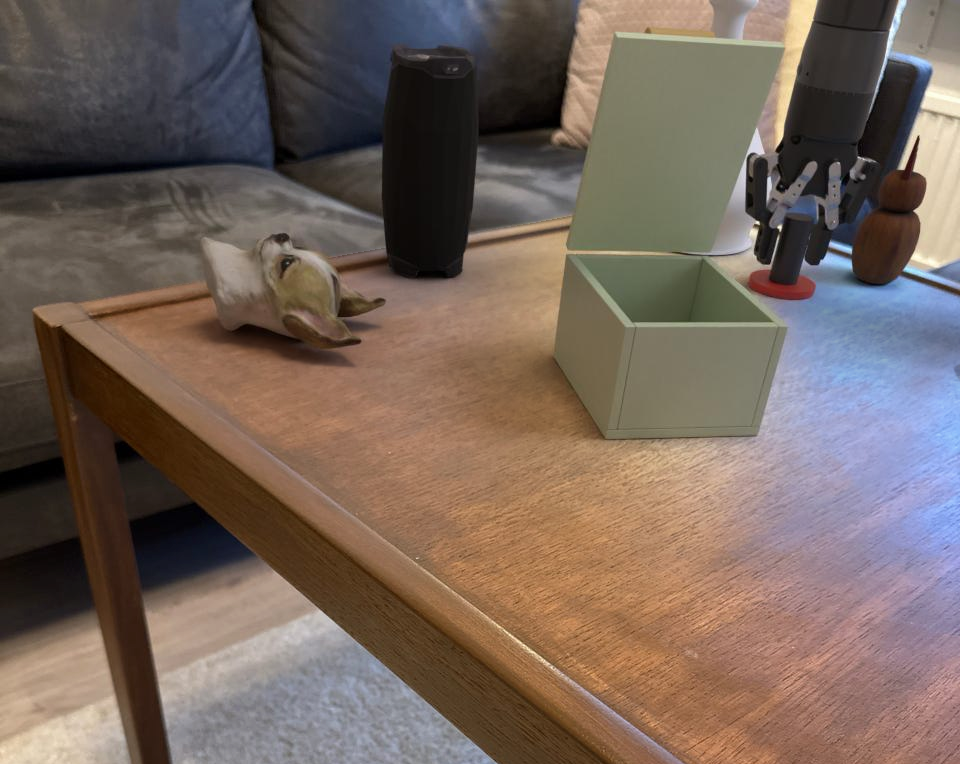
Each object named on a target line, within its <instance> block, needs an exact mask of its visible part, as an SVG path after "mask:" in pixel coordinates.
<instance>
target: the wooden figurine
mask: <svg viewBox="0 0 960 764" xmlns="http://www.w3.org/2000/svg"><path fill="white" fill-rule="evenodd" d="M920 141H921V135H919V134H918V135H917V137H916V140H915V142H914V144H913V146H912V149H911V151H910V154H909V156H908V159H907V162H906V164H905V167H904V169H893V170H891V171H890V172H888V173H887V174H886V175H885V176H884V178H883V180H882V181H881V183H880V186H879V189H878V193H877V202H878V205H879V207H876V208H874V209H872V210H871V211H870V212H869V213H868V214H867V215H865V216H864V218H863V220H862V221H861V223H860V224H859V226H858V228H857V230H856V232H855V235H854V238H853V241H852V245H851V267H852V272H853V274H854V275H855V277H856V278H857V279H859V280H861V281H863V282H865V283H867V284H872V285H885V284H891V283H892V282H894V281H895V280H897V279H898V278H899V277H900V275H901V274H902V273H903V272H904V270H905V268H906V267H907V265H908V264H909V263H910V260H911V259H912V257H913V255H914V253H915V251H916V248H917V245H918V243H919V239H920V235H921V225H922V223H921V220H920V217H919V215H918V213H916V212H915V210H917V209H918V208H920V206H921V205H922V204H923V201H924V198H925V195H926V192H927V184H928V182H927V178H926V177H925V176H924V175H922V174H921V173H919V172H915V171H914V169H915V165H916V161H917V157H918V150H919V144H920Z"/></svg>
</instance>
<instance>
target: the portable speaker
mask: <svg viewBox="0 0 960 764" xmlns="http://www.w3.org/2000/svg"><path fill="white" fill-rule="evenodd" d="M389 61H390V62H391V67H390V72H389V79H388V83H387V84H388V85H387V91H386V97H385V103H384V110H383V116H382V143H381V144H382V146H381V148H382V151H381V154H382V155H381V205H382V217H383V231H384V243H385V244H384V245H385V253H386V258H387V265H388V267H389V268H390V270H391V271H392V272H393V273H395V274H399V275H402V276H405V277H408V278H411V279H412V278H414V277H416V276H417V275H418V273H419V272H443V274H444V275H445V276H446V277H447V278H456V277H457V276H459V274H460V273H462V272H463V266H464V265H463V263H464V255H465V253H466V249H467V244H468V243H469V242H468V241H469V232H470V226H471V220H472V213H473V209H474V197H475V196H474V195H475V185H476V174H477V173H476V171H477V159H478V146H479V136H480V135H479V101H478V99H479V98H478V67H477V66H478V65H477V63H476V58H475V55H474V54H473V52H472V50H469V49H467V48H464V47H462V46H452V45H442V44H441V45H440V44H439V45H438V46H436V48H435V47H433V48H432V47H431V48H430V47H429V48H412V47H409V46H408V45H407V44H402V43H401V44H399V43H398V44H393V45H392V48H391V52H390V55H389Z"/></svg>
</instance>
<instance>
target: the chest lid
mask: <svg viewBox="0 0 960 764" xmlns="http://www.w3.org/2000/svg"><path fill="white" fill-rule="evenodd" d="M785 51H786V45H785V44H784V43H783V41H770V40H769V41H768V40H755V39H742V40H740V39H724V38H715V36H714V33H713V32H712V31H711V30H700V29H688V28H687V29H686V28H685V29H684V28H670V27H669V28H668V27H655V26H647V27H646V28H645V30H644V32H628V31H614V32H613V36H612V41H611V44H610V50H609V55H608V58H607V62H606V66H605V71H604V76H603V80H602V84H601V88H600V93H599V96H598V97H599V98H598V102H597V107H596V111H595V116H594V119H593V124H592V128H591V133H590V136H589V141H588V146H587V149H586V155H585V158H584V163H583V167H582V172H581V176H580V181H579V186H578V190H577V193H576V198H575V202H574V207H573V212H572V216H571V220H570V225H569V229H568V232H567V237H566V243H565V247H566V250H567V251H577V252H579V251H583V252H585V251H586V252H642V253H646V252H647V253H648V252H649V253H650V252H652V253H681V252H708V253H710V252H711V251H712V248H713V245H714V242H715V240H716V237H717V234H718V231H719V229H720V226H721V223H722V220H723V218H724V215H725V212H726V210H727V207H728V204H729V201H730V199H731V196H732V193H733V190H734V188H735V185H736V182H737V180H738V177H739V174H740V171H741V169H742V166H743V163H744V160H745V158H746V155H747V152H748V150H749V147H750V144H751V141H752V139H753V136H754V133H755V130H756V128H758V125H759V123H760V119H761V117H762V114H763V111H764V109H765V106H766V102H767V100H768V98H769V95H770V92H771V89H772V86H773V84H774V82H775V79H776V75H777V73H778V71H779V67H780V65H781V62H782V59H783V56H784V53H785Z"/></svg>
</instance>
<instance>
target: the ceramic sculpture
mask: <svg viewBox="0 0 960 764" xmlns="http://www.w3.org/2000/svg"><path fill="white" fill-rule="evenodd" d="M200 250H201V254H202V255H201V256H202V264H203V265H202V266H203V275H204V278H205V284H206V288H207V290H208V292H209V294H210V296H211V298H212V300H213V302H214V305H215V308H216V309H215V311H216V314H217V318H218V321H220V324H221V326H222V327H223V328H224V329H225V330H227V331H232V332H233V331H236V330H237V329H239V328H240V327H243V326H245V325H252V326H256V327H259V328H263V329H266V330H269V331H271V332H274V333H276V334H279V335H282V336H285V337H290V338H292V339H296V340H299V341H300V340H301V341H302V342H304V343H306V344H307V345H309V346H310V347H313V348H315V349H322V350H325V349H326V350H327V349H328V350H329V349H330V350H331V349H333V350H334V349H340V348H346V347H351V346H352V347H353V346H358V345H360V344H362V342H363V339H361V338H360V337H358V336H356V335H355V334H353V332H351V330H350V329H349V327H347V325H346V323H345V321H343V320H342V318H354V317H357V316H360V315H363V314H366V313H369V312H372V311H374V310H377V309H379V308H381V307H383V306H385V305H386V304H387V299H386V298H384V297H379V296H378V297H372V298H368V297H367V298H366V297H365V296H364V295H362V294H361V293H359V292H358V291H357V292H356V291H352V289H351V288H350V287H349V286H348V285H346V284H345V283H342V282H341V277H340V275H339V272H338V270H337V269H336V267H335V265H334V264H333V263H332V262H331V260H330V259H329V258H327V256H325V254H324V253H322V252H320V251H319V250H315V249H313V250H312V249H310V248H308V247H303V246H294V245H293V241H292V240H291V237H290V235H289V234H288V232H287V233H286V232H281V233H279V232H278V233H271V234H270V235H269V236H268V237H263V238H261V239H260V240H259V241H258V242H257V243H256V245H255V246H254V248H252V249H251V250H243V249H241V248H238V247H236V246H234V245H233V244H231V243H226V242H223V241H219V240H214V239H212V238H210V237H207V236H203V237H202V238H201V239H200ZM340 318H341V319H340Z"/></svg>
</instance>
